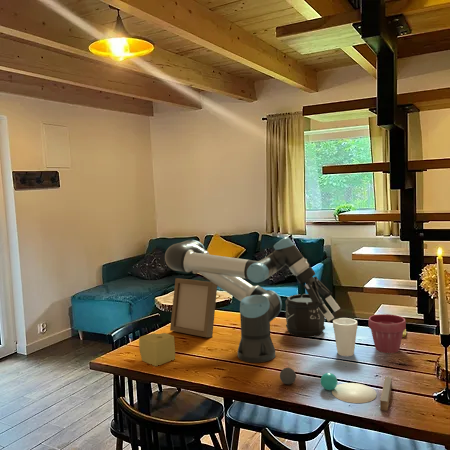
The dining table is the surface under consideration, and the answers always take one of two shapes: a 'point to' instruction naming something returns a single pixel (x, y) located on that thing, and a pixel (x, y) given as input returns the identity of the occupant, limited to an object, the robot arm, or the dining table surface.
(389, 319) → the plant pot
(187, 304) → the photo frame
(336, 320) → the foam cup
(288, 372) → the gray ball
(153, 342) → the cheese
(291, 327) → the black lettered pot
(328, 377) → the object ball
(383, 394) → the rail
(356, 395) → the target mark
